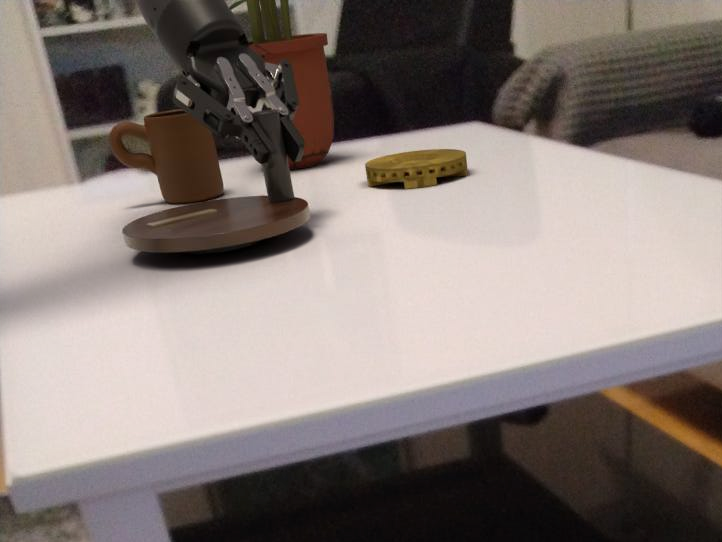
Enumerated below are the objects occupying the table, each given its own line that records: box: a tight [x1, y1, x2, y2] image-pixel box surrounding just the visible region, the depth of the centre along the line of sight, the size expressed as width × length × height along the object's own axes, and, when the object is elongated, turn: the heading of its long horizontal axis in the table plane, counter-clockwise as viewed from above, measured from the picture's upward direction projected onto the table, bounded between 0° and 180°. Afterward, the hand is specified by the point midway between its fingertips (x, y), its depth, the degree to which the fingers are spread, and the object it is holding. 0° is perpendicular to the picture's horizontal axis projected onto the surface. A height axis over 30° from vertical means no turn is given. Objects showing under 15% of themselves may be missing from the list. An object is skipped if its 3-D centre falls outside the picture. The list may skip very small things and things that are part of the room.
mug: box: [108, 108, 225, 204], centre depth 122 cm, size 12×8×9 cm, turn 107°
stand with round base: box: [121, 109, 311, 255], centre depth 98 cm, size 18×18×11 cm
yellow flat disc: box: [364, 148, 469, 190], centre depth 121 cm, size 12×12×2 cm
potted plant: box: [228, 0, 341, 170], centre depth 127 cm, size 17×16×35 cm
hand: (286, 158), depth 100 cm, fingers closed on stand with round base, 2 cm apart
